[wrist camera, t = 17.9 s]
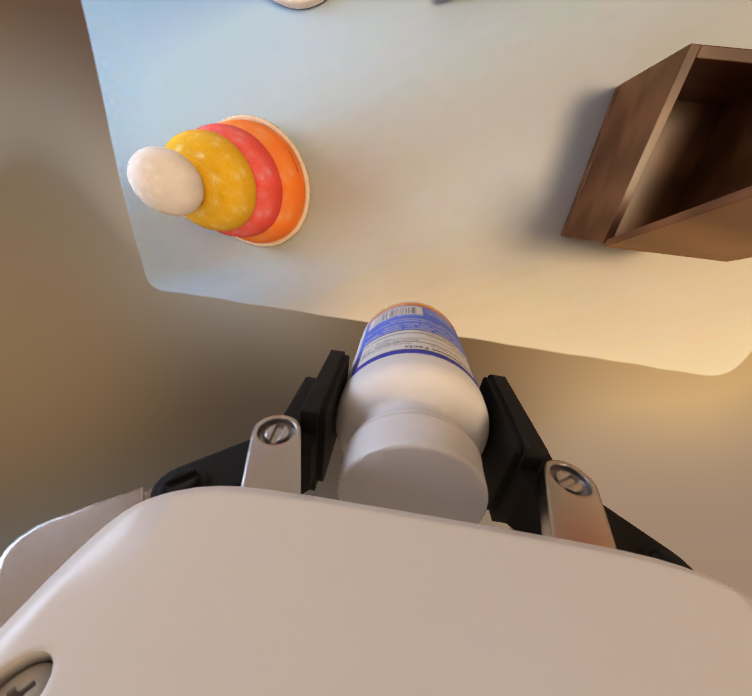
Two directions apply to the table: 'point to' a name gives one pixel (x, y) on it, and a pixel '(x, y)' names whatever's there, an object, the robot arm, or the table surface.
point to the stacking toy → (228, 179)
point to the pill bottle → (413, 419)
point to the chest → (668, 143)
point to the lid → (698, 231)
